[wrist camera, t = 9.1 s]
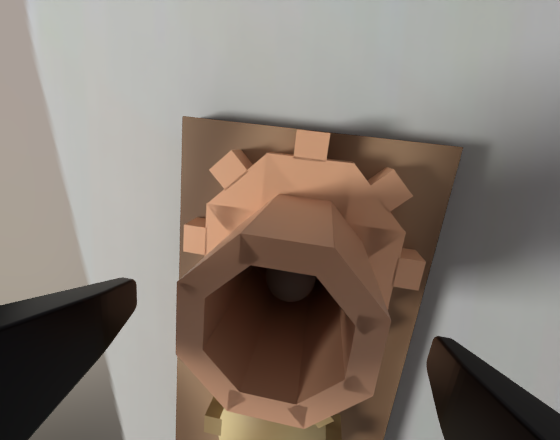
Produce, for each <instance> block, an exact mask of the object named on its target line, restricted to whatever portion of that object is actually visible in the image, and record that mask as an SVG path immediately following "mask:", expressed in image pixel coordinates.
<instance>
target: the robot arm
mask: <svg viewBox="0 0 560 440" xmlns="http://www.w3.org/2000/svg"><path fill="white" fill-rule="evenodd" d="M136 305H137V289H136V282H135V281H134V280H133V279H128V278H117V279H113V280H109V281H104V282H100V283H96V284H91V285H87V286H83V287H78V288H74V289H70V290H65V291H61V292H57V293H53V294H48V295H44V296H39V297H35V298H31V299H27V300H22V301H18V302H13V303H9V304H5V305H0V440H28V439H29V438H30V437H31V436H32V435H33V433H34V432H35V431H36V430H37V429H38V428H39V427H40V425H41V424H42V423H43V422H44V421H45V420H46V419H47V417H48V416H49V415H50V414H51V413H52V412H53V411H54V409H55V408H56V407H57V406H58V405H59V404H60V403H61V401H62V400H63V399H64V398H65V397H66V396H67V395H68V393H69V392H70V391H71V390H72V389H73V388H74V386H75V385H76V384H77V383H78V382H79V381H80V379H82V377H83V376H84V375H85V374H86V373H87V372H88V371H89V369H90V368H91V367H92V366H93V365H94V364H95V362H96V361H97V360H98V359H99V358H100V357H101V355H102V354H103V353H104V352H105V350H106V349H107V348H108V347H109V345H110V344H111V343H112V341H113V340H114V338H115V337H116V336H117V334H118V333H119V331H120V330H121V329H122V327H123V326H124V325H125V323H126V322H127V320H128V319H129V318H130V316H131V315H132V313H133V312H134V310H135V308H136ZM427 372H428V376H429V381H430V385H431V389H432V393H433V398H434V402H435V406H436V411H437V415H438V419H439V423H440V426H441V430H442V433H443V436H444V439H445V440H560V414H559V413H558V412H556V411H555V410H553V409H552V408H551V407H549V406H548V405H546V404H545V403H543V402H542V401H541V400H539V399H538V398H536V397H535V396H533V395H532V394H530V393H529V392H528V391H526V390H525V389H523V388H522V387H520V386H519V385H518V384H516V383H515V382H513V381H512V380H510V379H509V378H508V377H506V376H505V375H503V374H502V373H500V372H499V371H497V370H496V369H495V368H493V367H492V366H490V365H489V364H487V363H486V362H485V361H483V360H482V359H480V358H479V357H477V356H476V355H475V354H473V353H472V352H470V351H469V350H467V349H466V348H464V347H463V346H462V345H460V344H459V343H457V342H456V341H454V340H453V339H451V338H446V337H441V336H436V337H435V338H434V339H433V342H432V345H431V348H430V352H429V355H428V358H427Z"/></svg>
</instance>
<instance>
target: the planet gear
mask: <svg viewBox="0 0 560 440" xmlns="http://www.w3.org/2000/svg"><path fill="white" fill-rule="evenodd" d="M329 139H330V133H324V132H315V131H306V130H297V132H296V140H295V149H294V155H291V154H283V153H274V152H269V153H266V154H265V155H264V156H263V157H262V158H261V159H259V160H258V161H257V162H256V163H255V164H254V165H253V164H252V163H251V162H250V160H249V159H248V158H247V157H246V155H245V154H244V153H243V151H242V150H231V151H230V152H228V153H227V154H226V155H225V156H224V157H223V158H222V159H221V160H219V161H218V162H217V163H216V164H215V165H214V166H213V167H212V168H210V169H209V171H210V172H211V173H212V174H213V176H214V177H215V178H216V179H217V181H218V182H219V183H220V184H221V186H222V187H223V188H224V190H223V191H222V192H220V193H219V194H218V195H217V196H216V197H214V198H213V199H212V200H211V201H210V202H208V203H207V204H206V218H200V217H196V218H195V219H193V220H191V221H189V222H187V223H186V224H184V240H183V252H189V253H195V254H201V255H204V258H203V259H201V260H200V261H199V262H198V263H197V264H196V265H195V266H194V267H193V268H192V269H191V270H189V271H188V272H187V273H186V274H185V275H184V276H183V277H182V278H181V279H180V280H178V281H177V309H176V355H177V356H178V357H179V358H180V359H181V360H182V362H183V363H184V364H185V365H186V366H187V367H188V368H189V369H190V370H191V372H192V373H193V374H194V375H195V376H196V377H197V378H198V379H199V381H200V382H201V383H202V384H203V385H204V386H205V387H206V388H207V389H208V391H209V392H210V393H211V394H212V395H213V396H214V397H215V398H216V400H217V401H218V402H219V403H220V404H221V405H222V406H223V407H224V408H225V410H226V411H228V412H233V413H237V414H241V415H246V416H250V417H254V418H259V419H263V420H267V421H271V422H276V423H280V424H284V425H289V426H293V427H297V428H301V429H305V428H308V427H310V426H312V425H314V424H316V423H318V422H320V421H322V420H324V419H326V418H328V417H331V416H333V415H335V414H337V413H339V412H341V411H343V410H345V409H347V408H349V407H352V406H354V405H356V404H358V403H360V402H362V401H364V400H366V399H368V398H370V397H372V396H373V395H374V391H375V387H376V382H377V378H378V374H379V370H380V366H381V362H382V358H383V354H384V349H385V345H386V341H387V337H388V333H389V329H390V325H391V318H390V316H389V313H388V309H389V308H388V306H389V302H390V298H391V294H392V289H393V287H399V288H405V289H411V290H417V291H419V287H420V283H421V279H422V275H423V271H424V268H425V264H426V261H425V260H424V259H423V258H422V257H421V255H420V254H419V253H418V252H417V251H416V250H412V249H406V248H402V247H403V243H404V238H405V234H406V232H405V230H404V229H403V228H402V227H401V226H400V224H399V223H398V222H397V220H396V219H395V218H394V216H393V215H392V214H391V212H390V211H392V210H393V209H395V208H396V207H398V206H399V205H401V204H402V203H404V202H405V201H407V200H408V199H410V198H411V197H413V195H412V194H411V192H410V191H409V190H408V188H407V187H406V186H405V184H404V183H403V181H402V180H401V179H400V177H399V176H398V174H397V173H396V172H395V170H394V169H391V168H389V167H385V168H384V169H383V170H381V171H380V172H379V173H377V174H376V175H374V176H373V177H372V178H370V179H369V180H366V179H365V177H364V176H363V174H362V173H361V172H360V170H359V169H358V168H357V166H356V165H355V163H354V162H352V161H342V160H334V159H327V153H328V146H329ZM267 268H270V269H276V270H282V271H288V272H294V273H300V274H306V275H312V276H316V277H317V278H318V279H316V280H315V285H314V287H313V289H312V291H311V292H310V294H309V295H307V296H306V297H305V298H304V299H302V300H299V301H296V302H286V301H283V300H280V299H278V298H277V297H275V296H274V295H273V294H272V293H271V291H270V290H269V288H268V286H267V283H266V270H267Z"/></svg>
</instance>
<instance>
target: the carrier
mask: <svg viewBox="0 0 560 440" xmlns="http://www.w3.org/2000/svg"><path fill="white" fill-rule="evenodd" d="M297 130H303V129H294V128H285V127H276V126H267V125H258V124H249V123H240V122H231V121H222V120H213V119H204V118H195V117H186V116H183V121H182V168H181V215H180V262H179V280H180V279H181V278H182V277H183V276H184V275H185V274H186V273H187V272H188V271H189V270H191V269H192V268H193V267H194V266H195V265H196V264H197V263H198V262H199V261H200V260H201V259H203V258H204V255H201V254H195V253H189V252H183V240H184V224H186V223H187V222H189V221H191V220H193V219H195V218H196V217H200V218H206V204H207V203H208V202H210V201H211V200H212V199H213V198H214V197H216V196H217V195H218V194H219V193H220V192H222V191H223V190H224V188H223V187H222V186H221V184H220V183H219V182H218V181H217V179H216V178H215V177H214V176H213V174H212V173H211V172H210V171H209V169H210V168H212V167H213V166H214V165H215V164H216V163H217V162H218V161H219V160H221V159H222V158H223V157H224V156H225V155H226V154H227V153H228V152H230V151H231V150H242V151H243V153H244V154H245V155H246V157H247V158H248V159H249V160H250V162H251V163H252V164H253V165H254V164H255V163H256V162H257V161H258V160H259V159H261V158H262V157H263V156H264V155H265V154H266V153H269V152H274V153H283V154H291V155H294V149H295V140H296V132H297ZM306 131H312V130H306ZM315 132H321V131H315ZM324 133H330V132H324ZM462 150H463V147H456V146H447V145H438V144H429V143H420V142H411V141H402V140H393V139H384V138H375V137H366V136H357V135H348V134H339V133H330V139H329V146H328V153H327V159H334V160H342V161H352V162H354V163H355V165H356V166H357V168H358V169H359V170H360V172H361V173H362V174H363V176H364V177H365V179H366V180H369V179H370V178H372V177H373V176H374V175H376V174H377V173H379V172H380V171H381V170H383V169H384V168H385V167H389V168H391V169H394V170H395V172H396V173H397V174H398V176H399V177H400V179H401V180H402V181H403V183H404V184H405V186H406V187H407V188H408V190H409V191H410V192H411V194H412V195H413V197H411V198H410V199H408V200H407V201H405V202H404V203H402V204H401V205H399V206H398V207H396V208H395V209H393V210H392V211H390V212H391V214H392V215H393V216H394V218H395V219H396V220H397V222H398V223H399V224H400V226H401V227H402V228H403V229H404V230H405V232H406V234H405V238H404V243H403V247H402V248H406V249H412V250H416V251H417V252H418V253H419V254H420V255H421V257H422V258H423V259H424V260H425V261H426V264H425V268H424V271H423V275H422V279H421V283H420V287H419V291H417V290H411V289H405V288H399V287H393V289H392V294H391V298H390V302H389V306H388V308H389V309H388V313H389V316H390V318H391V325H390V329H389V333H388V337H387V341H386V345H385V349H384V354H383V358H382V362H381V366H380V370H379V374H378V378H377V382H376V387H375V391H374V395H373V396H372V397H370V398H368V399H366V400H364V401H362V402H360V403H358V404H356V405H354V406H352V407H349V408H347V409H345V410H343V411H341V412H339V413H337V414H335V415H333V416H331V417H328V418H326V419H324V420H322V421H320V422H318V423H316V424H314V425H312V426H310V427H308V428H305V429H301V428H297V427H293V426H289V425H284V424H280V423H276V422H271V421H267V420H263V419H259V418H254V417H250V416H246V415H241V414H237V413H233V412H228V411H226V410H225V408H224V407H223V406H222V405H221V404H220V403H219V402H218V401H217V400H216V398H215V397H214V396H213V395H212V394H211V393H210V392H209V391H208V389H207V388H206V387H205V386H204V385H203V384H202V383H201V382H200V381H199V379H198V378H197V377H196V376H195V375H194V374H193V373H192V372H191V370H190V369H189V368H188V367H187V366H186V365H185V364H184V363H183V362H182V360H181V359H180V358H179V357H178V356H177V403H176V440H383V439H384V436H385V432H386V428H387V425H388V421H389V417H390V414H391V410H392V406H393V403H394V399H395V395H396V392H397V388H398V385H399V381H400V377H401V374H402V370H403V366H404V363H405V359H406V355H407V352H408V348H409V344H410V341H411V337H412V333H413V330H414V326H415V322H416V319H417V315H418V311H419V308H420V304H421V300H422V297H423V293H424V289H425V286H426V282H427V278H428V275H429V271H430V267H431V264H432V260H433V256H434V253H435V249H436V245H437V242H438V238H439V234H440V231H441V227H442V223H443V220H444V216H445V212H446V209H447V205H448V201H449V198H450V194H451V190H452V187H453V183H454V179H455V176H456V172H457V168H458V165H459V161H460V157H461V154H462ZM316 279H318V278H317V277H316V276H312V275H306V274H300V273H294V272H288V271H282V270H276V269H270V268H267V270H266V283H267V286H268V288H269V290H270V291H271V293H272V294H273V295H274V296H275V297H277V298H278V299H280V300H283V301H286V302H296V301H299V300H302V299H304V298H305V297H306V296H307V295H309V294H310V292H311V291H312V289H313V287H314V285H315V280H316Z"/></svg>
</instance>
